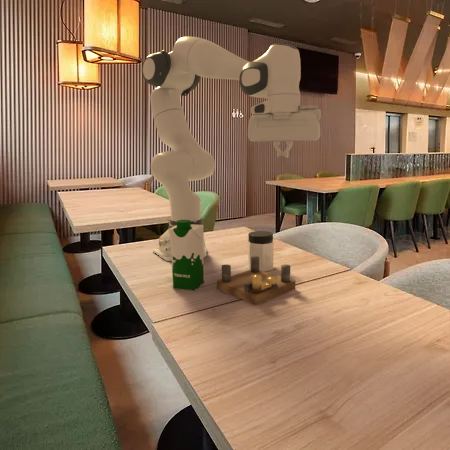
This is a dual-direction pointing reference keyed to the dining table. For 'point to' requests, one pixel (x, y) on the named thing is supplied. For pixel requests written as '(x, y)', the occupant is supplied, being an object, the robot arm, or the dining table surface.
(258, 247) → the jar
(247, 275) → the stool seat
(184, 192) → the robot arm
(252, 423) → the dining table surface
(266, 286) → the gold bone
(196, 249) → the milk carton
